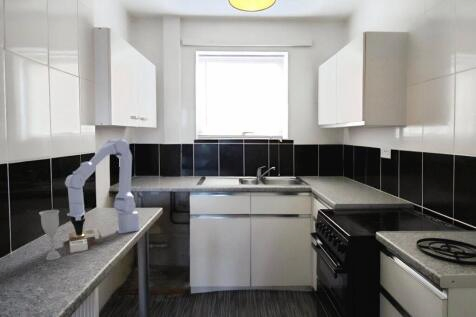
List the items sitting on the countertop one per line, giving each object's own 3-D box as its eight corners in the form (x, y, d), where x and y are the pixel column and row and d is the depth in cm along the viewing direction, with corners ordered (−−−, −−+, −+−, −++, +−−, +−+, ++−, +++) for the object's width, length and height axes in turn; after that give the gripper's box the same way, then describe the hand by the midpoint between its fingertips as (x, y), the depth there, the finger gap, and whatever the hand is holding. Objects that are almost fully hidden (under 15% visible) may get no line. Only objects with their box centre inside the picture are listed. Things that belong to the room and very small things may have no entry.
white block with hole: (86, 245, 153) (86, 238, 153) (87, 249, 148) (87, 242, 147) (70, 248, 150) (69, 241, 150) (70, 252, 145) (69, 245, 145)
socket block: (98, 235, 169) (98, 228, 168) (101, 242, 157) (101, 235, 157) (69, 239, 163) (68, 233, 163) (70, 247, 152) (69, 240, 151)
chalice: (67, 255, 142) (63, 210, 141) (53, 261, 136) (49, 214, 134) (53, 253, 144) (49, 209, 143) (38, 260, 138) (34, 213, 137)
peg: (85, 240, 160) (83, 224, 159) (85, 242, 156) (84, 226, 155) (73, 241, 158) (72, 226, 157) (74, 244, 154) (72, 228, 153)
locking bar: (96, 232, 162) (96, 228, 161) (99, 238, 152) (98, 234, 152) (83, 234, 159) (83, 230, 159) (85, 240, 149) (84, 236, 149)
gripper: (65, 201, 160) (68, 231, 161) (66, 206, 147) (69, 239, 148) (83, 199, 163) (85, 228, 164) (85, 204, 150) (87, 236, 151)
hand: (79, 233), depth 157 cm, fingers open, 5 cm apart
